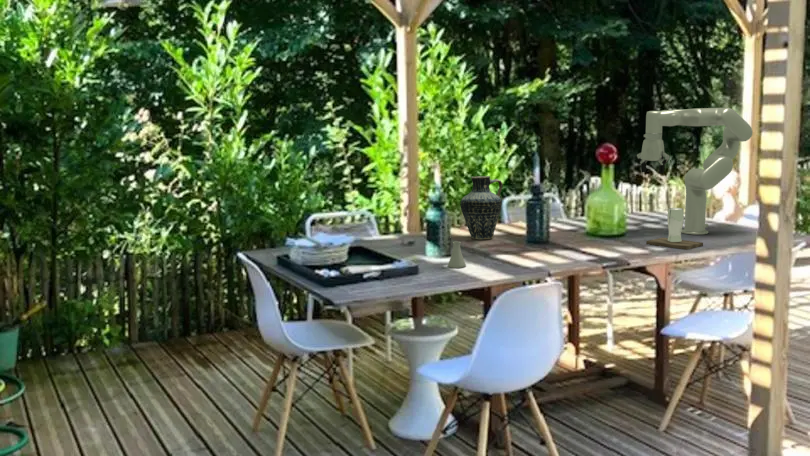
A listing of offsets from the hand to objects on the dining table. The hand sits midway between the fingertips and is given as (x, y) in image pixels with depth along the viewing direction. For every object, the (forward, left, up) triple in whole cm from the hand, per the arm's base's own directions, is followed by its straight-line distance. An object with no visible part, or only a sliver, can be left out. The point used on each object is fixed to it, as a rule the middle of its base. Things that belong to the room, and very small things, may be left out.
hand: (652, 172), depth 396 cm
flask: (+124, -8, -31) cm, 128 cm away
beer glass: (+18, +24, -29) cm, 41 cm away
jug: (+67, -49, -31) cm, 88 cm away
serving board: (+18, +24, -30) cm, 43 cm away
